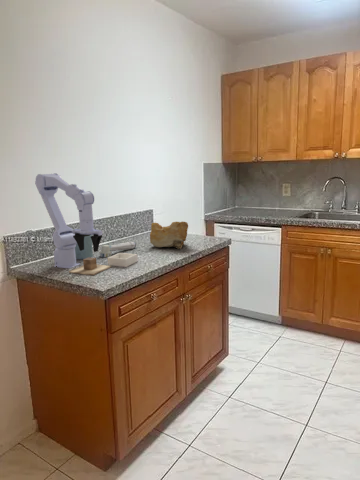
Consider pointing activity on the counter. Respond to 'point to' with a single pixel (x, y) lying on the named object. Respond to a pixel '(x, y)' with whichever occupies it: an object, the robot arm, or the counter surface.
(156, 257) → the counter surface
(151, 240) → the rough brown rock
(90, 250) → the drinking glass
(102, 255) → the toothpaste tube
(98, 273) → the mat
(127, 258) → the dish
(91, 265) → the lid
